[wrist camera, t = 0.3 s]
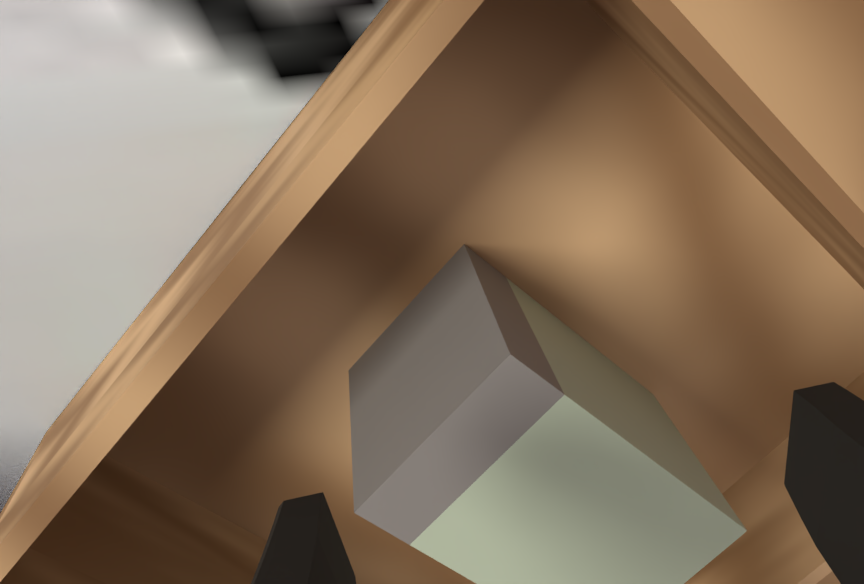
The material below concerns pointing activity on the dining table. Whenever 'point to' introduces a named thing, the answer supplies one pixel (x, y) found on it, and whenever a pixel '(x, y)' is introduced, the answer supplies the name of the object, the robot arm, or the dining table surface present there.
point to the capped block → (523, 446)
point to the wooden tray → (505, 251)
